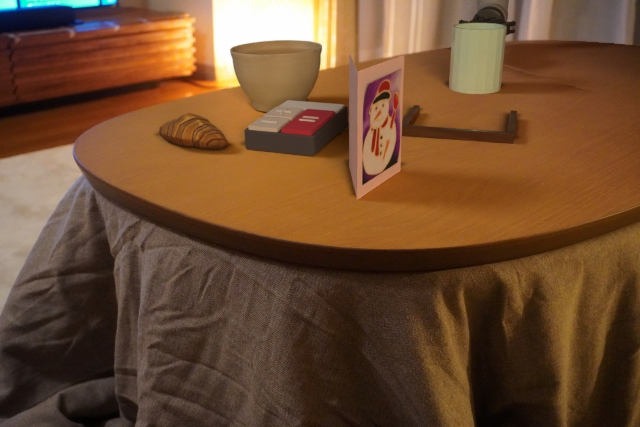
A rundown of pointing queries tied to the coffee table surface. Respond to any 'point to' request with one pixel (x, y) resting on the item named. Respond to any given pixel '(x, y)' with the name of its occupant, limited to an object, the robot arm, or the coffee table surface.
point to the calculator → (297, 127)
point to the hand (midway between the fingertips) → (481, 37)
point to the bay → (457, 130)
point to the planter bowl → (276, 71)
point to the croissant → (193, 133)
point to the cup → (477, 57)
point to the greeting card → (375, 123)
